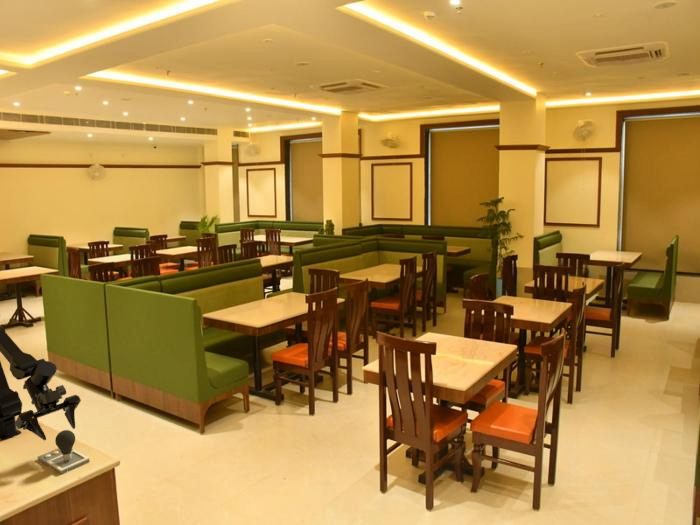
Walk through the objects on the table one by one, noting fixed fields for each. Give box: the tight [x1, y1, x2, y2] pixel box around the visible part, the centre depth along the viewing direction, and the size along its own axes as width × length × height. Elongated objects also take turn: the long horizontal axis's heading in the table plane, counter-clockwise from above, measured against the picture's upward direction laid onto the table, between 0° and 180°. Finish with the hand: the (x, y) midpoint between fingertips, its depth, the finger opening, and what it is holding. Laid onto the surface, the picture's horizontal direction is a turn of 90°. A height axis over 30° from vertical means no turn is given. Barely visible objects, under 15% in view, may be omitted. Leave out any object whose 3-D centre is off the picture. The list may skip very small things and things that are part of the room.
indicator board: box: [37, 447, 90, 475], centre depth 183 cm, size 15×9×1 cm, turn 53°
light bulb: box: [55, 429, 76, 461], centre depth 180 cm, size 6×6×10 cm
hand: (60, 433), depth 182 cm, fingers open, 9 cm apart
